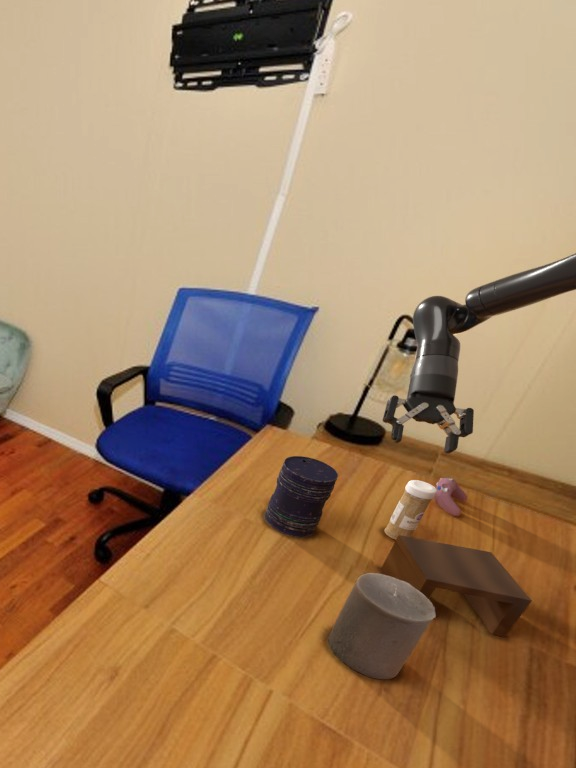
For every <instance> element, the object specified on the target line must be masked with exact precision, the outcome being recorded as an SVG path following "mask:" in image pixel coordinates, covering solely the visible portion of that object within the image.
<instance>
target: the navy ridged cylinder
mask: <svg viewBox="0 0 576 768" xmlns="http://www.w3.org/2000/svg"><path fill="white" fill-rule="evenodd" d="M338 477H339V473H338V471H337V470H336V469H335V468H334V467H333V466H331V465H330V464H328V463H326V462H324V461H321V460H318V459H316V458H313V457H308V456H302V455H293V456H288V457H286V458H285V459H284V461H283V463H282V466H281V468H280V470H279V473H278V476H277V478H276V486H275V489H274V492H273V493H272V494H271V496H270V498H269V501H268V502H267V506H266V510H265V514H264V520H265V522H266V523H267V524H268V525H269V526H270V527H271V528H273V529H274V530H275V531H278V532H280V533H282V534H284V535H285V536H286V535H287V536H290V537H295V538H308V537H311V536H313V535H314V533H315V530H316V528H317V527H318V525H319V523H320V521H321V518H322V515H323V510H324V507H325V505H326V502H327V501H328V500H329V499H330V497H331V496H332V493H333V491H334V488H335V485H336V482H337V480H338Z"/></svg>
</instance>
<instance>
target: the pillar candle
mask: <svg viewBox="0 0 576 768" xmlns="http://www.w3.org/2000/svg"><path fill="white" fill-rule="evenodd" d="M436 614H437V613H436V607H435V606H434V604H433V602H432V601H431V600H430V598H429V599H428V598H426V596H425V595H424V594H422V593H421V592H420V591H419V590H417V589H415V588H414V587H413V586H411V585H410V584H409V583H407V582H405V581H401V580H399V579H396V578H394V577H391V576H387V575H384V574H383V573H376V572H369V573H367V572H366V573H364V574H361V575H360V576H359V577H357V579H356V581H355V583H354V585H353V587H352V589H351V591H350V593H349V594H348V596H347V598H346V600H345V602H344V604H343V606H342V608H341V609H340V612H339V614H338V616H337V618H336V620H335V622H334V624H333V627H332V628H331V631H330V632H329V633H328V637H327V644H328V645H329V648H330V650H331V652H332V653H333V654H334V655H335V656H336V658H338V659H339V661H341V662H342V663H343V664H344V665H346V666H347V667H349V668H350V669H352V670H353V671H355V672H357V673H360V674H362V675H363V676H366V677H368V678H373V679H377V680H391V679H393V678H396V677H397V676H398V674H399V672H401V670H402V668H403V667H404V665H405V663H406V662H407V660H408V659H409V657H410V656H411V654H412V652H413V651H414V649H415V647H416V646H417V645H418V643H419V641H420V640H421V638H422V636H423V635H424V633H425V631H426V630H427V628H428V627H429V625H430V624H431V622H432V621H433V620H434V618H436V616H437V615H436Z"/></svg>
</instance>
